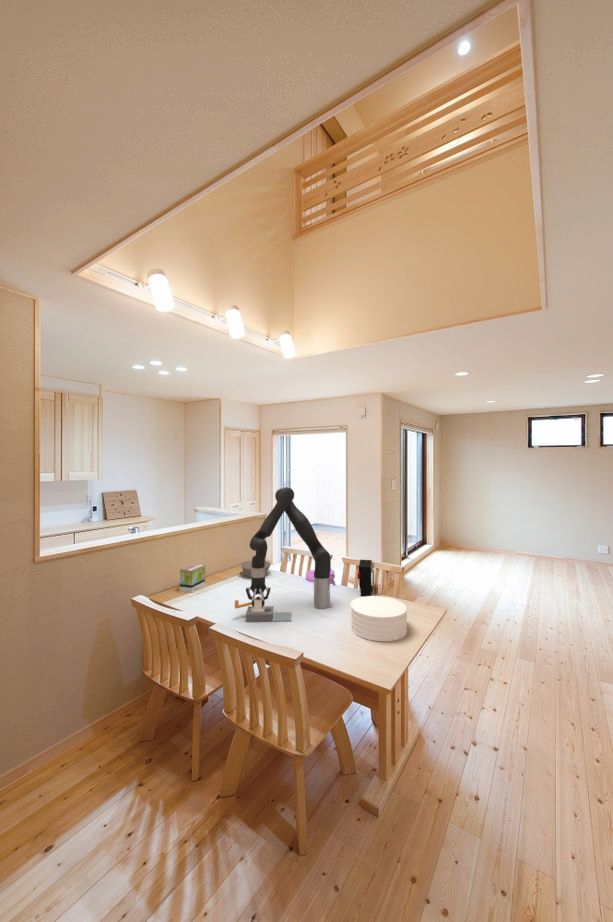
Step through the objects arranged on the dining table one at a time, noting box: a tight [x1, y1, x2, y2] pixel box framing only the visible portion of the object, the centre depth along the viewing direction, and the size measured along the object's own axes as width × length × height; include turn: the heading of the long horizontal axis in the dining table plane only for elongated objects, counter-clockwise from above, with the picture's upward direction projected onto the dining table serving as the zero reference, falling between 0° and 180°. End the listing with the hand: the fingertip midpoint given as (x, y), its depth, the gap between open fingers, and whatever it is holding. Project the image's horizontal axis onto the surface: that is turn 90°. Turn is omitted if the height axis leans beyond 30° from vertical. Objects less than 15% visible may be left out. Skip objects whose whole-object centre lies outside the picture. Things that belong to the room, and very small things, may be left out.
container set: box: [305, 568, 336, 585], centre depth 257 cm, size 25×15×13 cm, turn 38°
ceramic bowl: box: [239, 560, 271, 579], centre depth 271 cm, size 22×23×10 cm
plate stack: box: [350, 595, 408, 643], centre depth 188 cm, size 28×28×12 cm
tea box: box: [179, 563, 206, 594], centre depth 246 cm, size 15×10×15 cm, turn 162°
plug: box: [251, 595, 266, 613], centre depth 200 cm, size 7×7×11 cm
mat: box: [273, 611, 292, 623], centre depth 200 cm, size 9×11×1 cm
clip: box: [234, 599, 252, 609], centre depth 202 cm, size 2×12×5 cm, turn 126°
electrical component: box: [357, 559, 375, 597], centre depth 236 cm, size 18×10×20 cm, turn 168°
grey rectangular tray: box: [245, 605, 275, 623], centre depth 200 cm, size 14×11×4 cm
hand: (258, 606), depth 200 cm, fingers closed on plug, 4 cm apart
